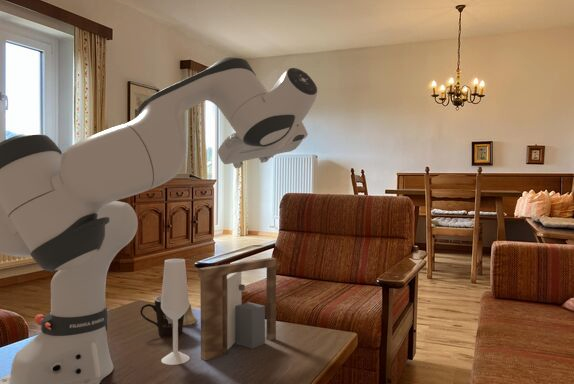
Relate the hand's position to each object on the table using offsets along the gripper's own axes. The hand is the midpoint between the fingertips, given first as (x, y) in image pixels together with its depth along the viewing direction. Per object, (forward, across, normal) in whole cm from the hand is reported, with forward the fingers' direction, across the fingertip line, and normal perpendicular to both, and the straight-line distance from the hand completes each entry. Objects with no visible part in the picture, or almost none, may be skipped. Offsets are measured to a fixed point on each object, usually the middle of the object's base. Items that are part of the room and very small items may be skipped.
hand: (249, 162), depth 112 cm
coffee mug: (+48, -20, -23) cm, 57 cm away
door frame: (+30, -8, -36) cm, 48 cm away
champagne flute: (+31, -24, -32) cm, 51 cm away
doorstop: (+32, -4, -36) cm, 48 cm away
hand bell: (+55, -11, -21) cm, 60 cm away
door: (+33, -8, -34) cm, 48 cm away
